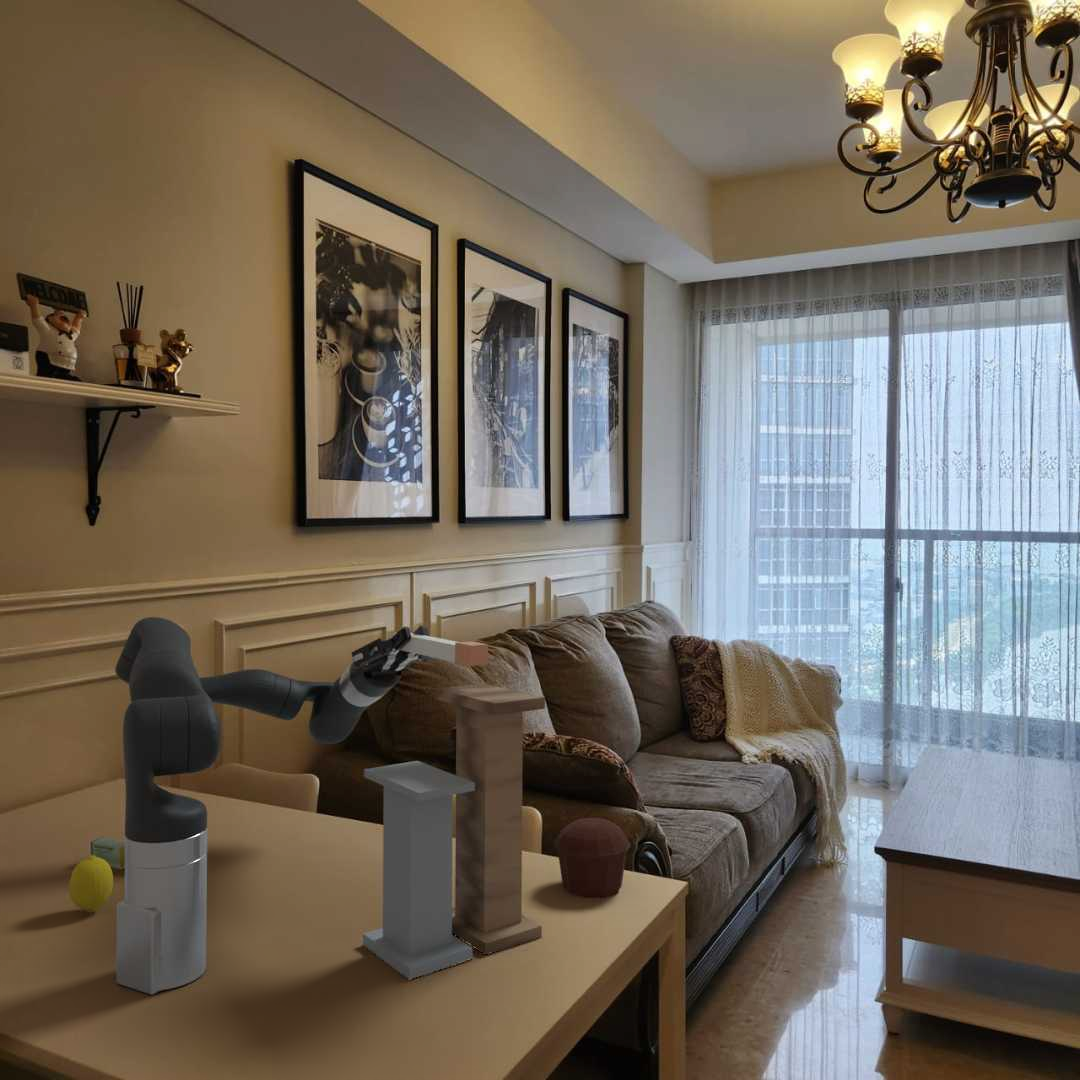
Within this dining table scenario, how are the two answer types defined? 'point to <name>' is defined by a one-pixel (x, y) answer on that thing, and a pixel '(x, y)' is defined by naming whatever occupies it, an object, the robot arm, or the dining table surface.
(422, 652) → the white square bar
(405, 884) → the grey pedestal column
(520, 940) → the tall tower
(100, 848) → the medication box
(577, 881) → the muffin
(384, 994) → the dining table surface
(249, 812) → the dining table surface
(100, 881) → the lemon
